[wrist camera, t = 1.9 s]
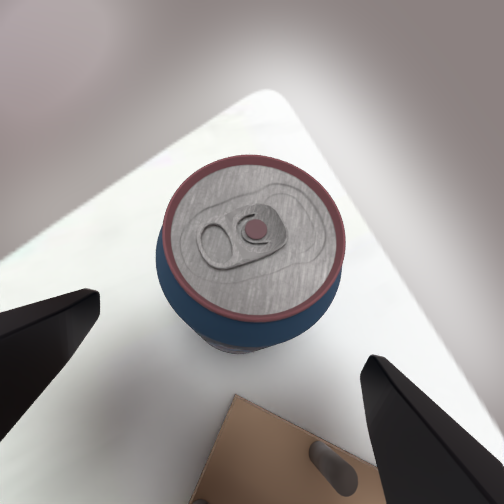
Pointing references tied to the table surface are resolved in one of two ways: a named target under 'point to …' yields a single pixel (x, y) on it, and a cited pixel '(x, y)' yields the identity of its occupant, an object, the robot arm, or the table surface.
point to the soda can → (250, 252)
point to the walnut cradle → (281, 465)
